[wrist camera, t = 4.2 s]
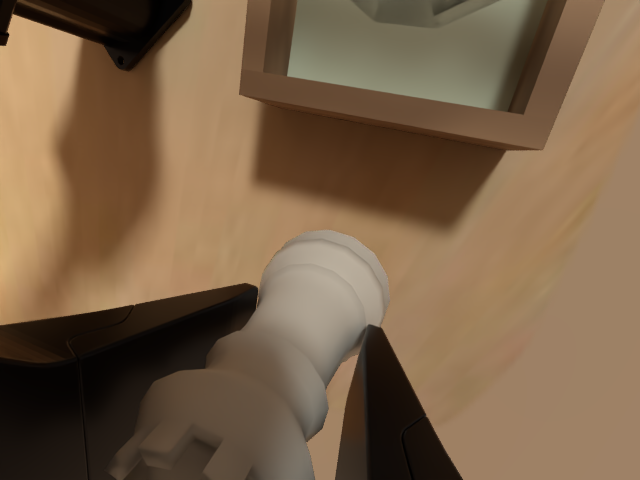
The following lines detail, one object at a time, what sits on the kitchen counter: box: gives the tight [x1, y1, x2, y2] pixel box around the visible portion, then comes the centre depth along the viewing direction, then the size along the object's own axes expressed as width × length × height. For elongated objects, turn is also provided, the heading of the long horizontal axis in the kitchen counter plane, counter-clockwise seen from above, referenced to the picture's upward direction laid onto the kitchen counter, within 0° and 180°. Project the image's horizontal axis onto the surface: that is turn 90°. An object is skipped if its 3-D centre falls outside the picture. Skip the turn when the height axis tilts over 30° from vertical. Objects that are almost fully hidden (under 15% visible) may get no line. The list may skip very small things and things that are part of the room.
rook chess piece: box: [105, 230, 390, 480], centre depth 8 cm, size 4×4×8 cm
